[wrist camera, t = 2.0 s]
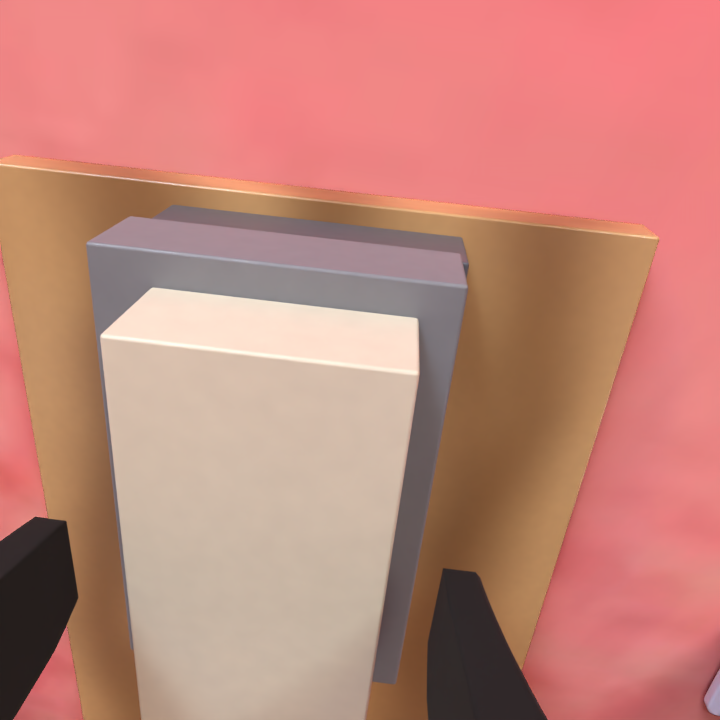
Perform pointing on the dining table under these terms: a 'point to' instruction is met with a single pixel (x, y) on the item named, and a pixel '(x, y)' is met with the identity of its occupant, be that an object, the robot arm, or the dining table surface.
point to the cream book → (257, 499)
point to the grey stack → (314, 288)
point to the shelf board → (463, 413)
